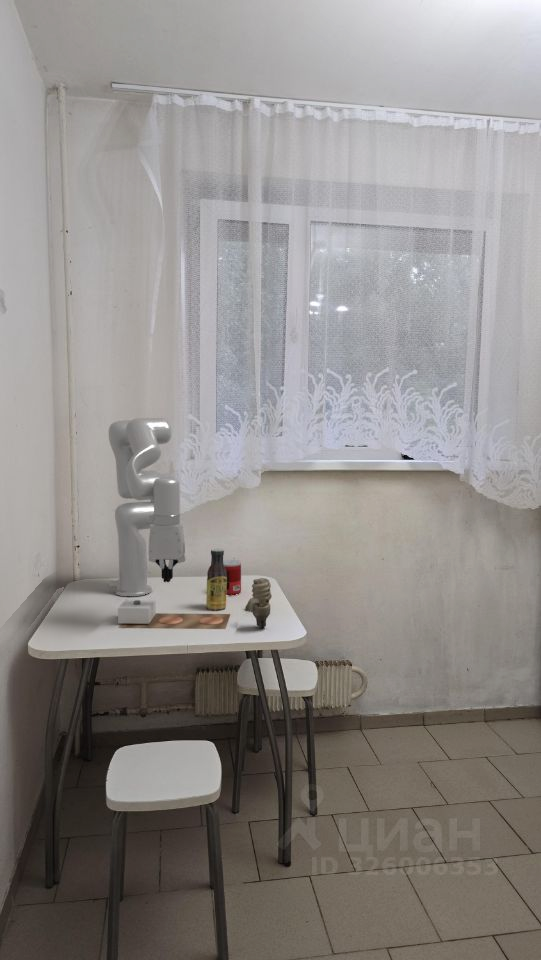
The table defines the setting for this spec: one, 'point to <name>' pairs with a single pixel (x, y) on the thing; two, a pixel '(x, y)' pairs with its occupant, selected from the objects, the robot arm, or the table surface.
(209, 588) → the sauce bottle
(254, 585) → the light bulb
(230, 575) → the canned food
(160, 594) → the table surface
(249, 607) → the beige rounded lump
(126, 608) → the block
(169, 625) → the board
